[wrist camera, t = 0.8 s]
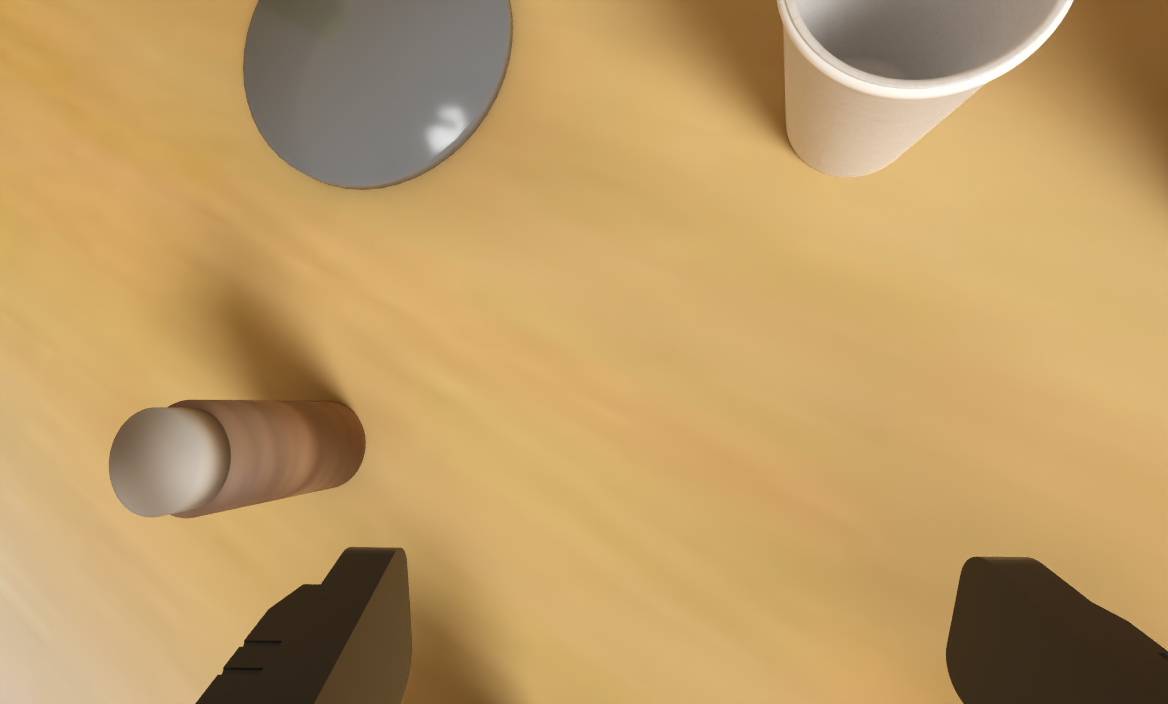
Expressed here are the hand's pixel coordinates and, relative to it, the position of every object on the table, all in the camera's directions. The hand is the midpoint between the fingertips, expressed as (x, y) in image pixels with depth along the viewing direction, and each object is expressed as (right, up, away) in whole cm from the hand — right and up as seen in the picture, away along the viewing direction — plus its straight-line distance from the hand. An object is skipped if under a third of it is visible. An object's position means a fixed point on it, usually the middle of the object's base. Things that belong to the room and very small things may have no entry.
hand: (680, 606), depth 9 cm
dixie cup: (+11, +14, +19) cm, 26 cm away
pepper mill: (-15, -1, +23) cm, 28 cm away
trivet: (-13, +21, +24) cm, 34 cm away
